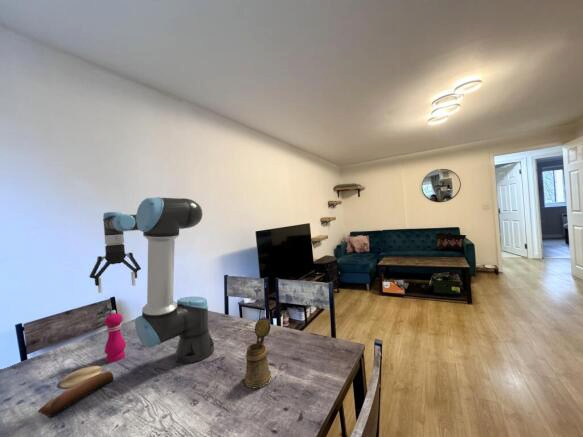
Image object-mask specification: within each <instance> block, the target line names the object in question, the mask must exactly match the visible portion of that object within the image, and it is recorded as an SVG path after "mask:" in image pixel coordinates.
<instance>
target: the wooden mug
mask: <svg viewBox="0 0 583 437" xmlns="http://www.w3.org/2000/svg"><path fill="white" fill-rule="evenodd" d="M271 327H272V326H271V322H270V320H269V319H268V318H267V317H266V316H263V317H261V318H260V319H259V320H257V321H256V322H255V324H254V334H255V335H256V337H257V338H256V342H255V343H251V344H249V345H248V346H247V350H246V355H245V357H246V367H245V368H246V369H245V375H244V383H246V384H245V385H246V386H247V385H248V386H250V387H249V388H251V387H260V386H263V385H265V384H266V383H268V382H269V380H270V378H271V379H272V375H271V374H272V373H271V370H270V365H269V362H268V355H267V354H268V352H267V349H266V345H264V344H265V343H264V342H265V337H266V336H267V335H269V334H270V331H271ZM269 383H270V382H269ZM248 386H247V387H248ZM260 388H261V387H260Z"/></svg>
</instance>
